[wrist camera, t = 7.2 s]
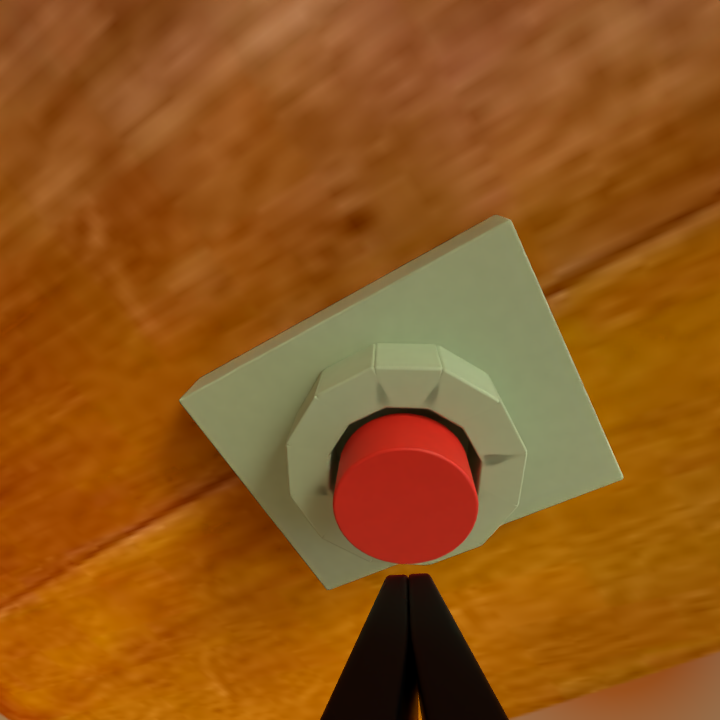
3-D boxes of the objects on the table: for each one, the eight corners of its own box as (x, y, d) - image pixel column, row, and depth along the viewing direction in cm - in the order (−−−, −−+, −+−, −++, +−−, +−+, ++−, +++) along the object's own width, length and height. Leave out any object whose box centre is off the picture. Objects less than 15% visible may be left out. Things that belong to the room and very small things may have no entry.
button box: (496, 213, 13) (531, 225, 10) (601, 449, 16) (656, 520, 12) (198, 378, 16) (148, 430, 12) (332, 555, 18) (320, 637, 15)
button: (432, 390, 12) (438, 424, 10) (488, 490, 13) (503, 536, 11) (315, 445, 13) (304, 484, 11) (378, 534, 14) (376, 582, 12)
